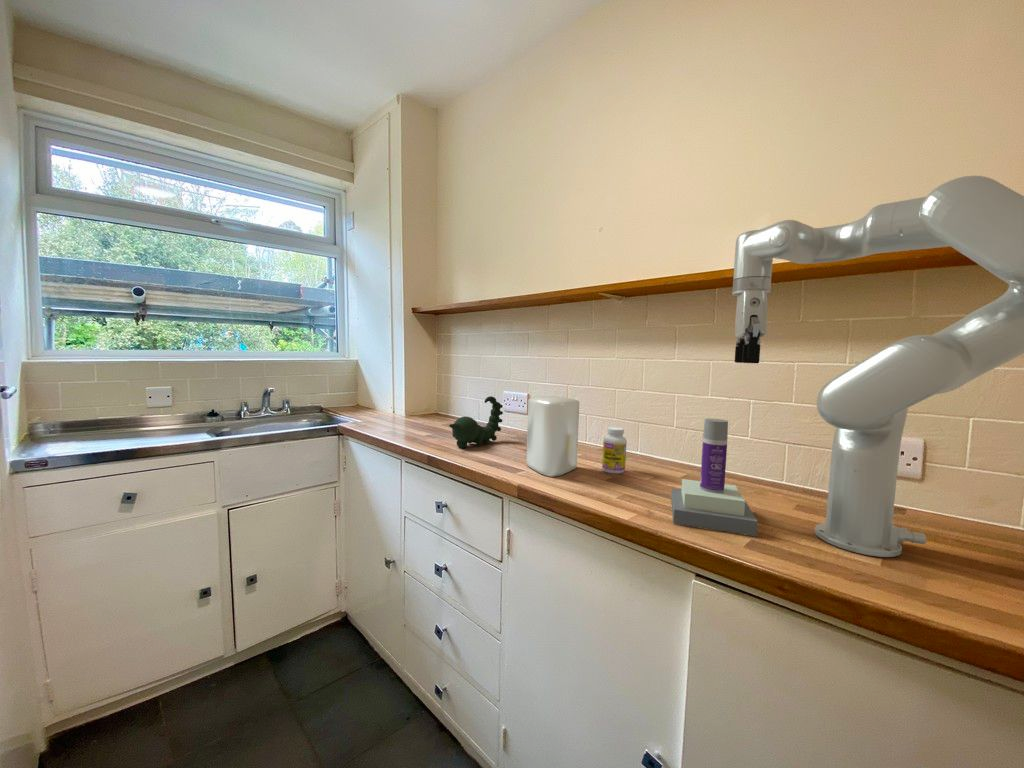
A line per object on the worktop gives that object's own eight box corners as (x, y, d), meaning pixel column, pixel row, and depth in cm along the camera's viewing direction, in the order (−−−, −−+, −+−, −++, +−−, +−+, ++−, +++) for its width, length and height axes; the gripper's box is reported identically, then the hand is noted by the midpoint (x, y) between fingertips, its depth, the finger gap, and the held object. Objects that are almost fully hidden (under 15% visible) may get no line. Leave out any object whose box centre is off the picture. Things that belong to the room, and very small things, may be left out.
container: (710, 493, 85) (715, 422, 84) (695, 486, 90) (699, 418, 89) (729, 492, 87) (734, 421, 86) (712, 485, 91) (717, 418, 90)
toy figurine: (487, 443, 163) (438, 446, 144) (492, 395, 163) (443, 393, 144) (505, 447, 157) (456, 451, 138) (509, 397, 157) (461, 395, 138)
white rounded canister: (576, 466, 127) (578, 395, 125) (578, 479, 113) (582, 400, 111) (526, 463, 128) (529, 393, 127) (523, 476, 114) (526, 397, 112)
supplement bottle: (599, 471, 121) (601, 428, 120) (605, 466, 127) (607, 425, 126) (622, 475, 118) (624, 431, 117) (627, 470, 124) (629, 428, 123)
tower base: (741, 509, 93) (743, 484, 93) (756, 536, 79) (758, 506, 79) (671, 500, 98) (672, 475, 98) (673, 523, 84) (675, 495, 84)
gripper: (781, 280, 84) (774, 364, 85) (761, 293, 101) (756, 363, 102) (739, 281, 87) (734, 362, 88) (727, 293, 103) (722, 362, 104)
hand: (746, 362), depth 95 cm, fingers open, 9 cm apart
